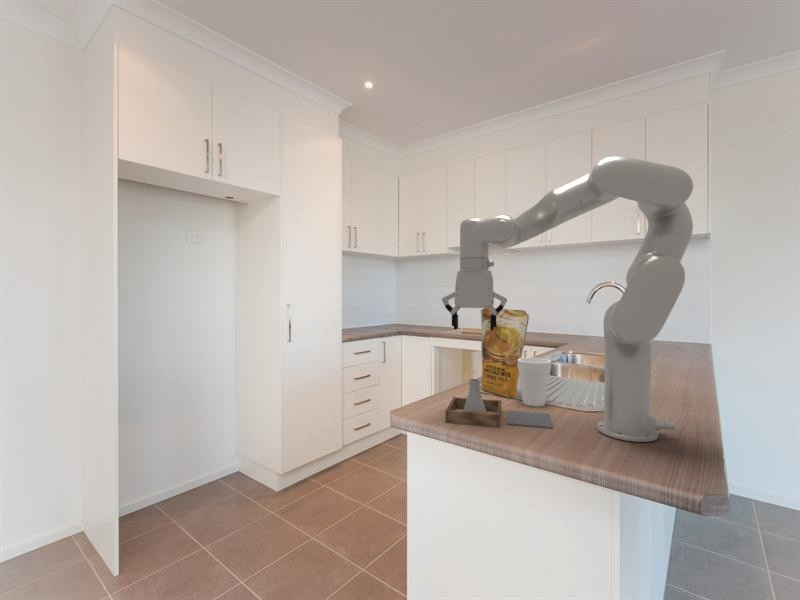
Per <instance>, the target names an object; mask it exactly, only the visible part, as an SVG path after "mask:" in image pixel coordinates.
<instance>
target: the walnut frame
mask: <svg viewBox="0 0 800 600" xmlns="http://www.w3.org/2000/svg"><path fill="white" fill-rule="evenodd" d="M466 400H467V397H457V396H455V397H454V396H453V397H452V399H451V400H450V402H449V404H448V406H447V408H446V410H445V423H446V424H449V423H450V424H459V425H470V426H480V427H481V426H483V427H494V428H501V418H502V399H501V400H500V399H488V398H487V399H485V398H482V400H483V403H484V405H485V408H486V411H487V413H477V412H464V411H463V409H464V406H465V403H466ZM456 409H460V410H456ZM488 412H496V413H488Z"/></svg>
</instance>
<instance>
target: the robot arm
mask: <svg viewBox="0 0 800 600" xmlns="http://www.w3.org/2000/svg"><path fill="white" fill-rule="evenodd" d="M693 190H694V182H693V179H692V177H691V176H690V175H689V174H688V173H687V171H685V170H683V169H681V168H679V167H676V166H671V165H668V164H662V163H657V162H654V161H653V162H651V161H648V160H644V159H643V160H642V159H638V158H634V157H627V156H622V155H621V156H620V155H611V156H607V157H603V158H602V159H601V160H599V161H598V162H596V164H595V165H594V167H593V169H592V170H591V171H590V172H588V173H586V174H584V175H582V176H580V177H577V178H576V179H573V180H571V181H569V182H567V183H565V184H562V185H560V186H558V187H555V188H554V189H552V190H550V191H549V192H547V193H546V194H545V195H544V196H543V197H542V198H541V199H540V200H539V201H538V202H537V203H536V204H534V205H533V206H532V207H530V208H529V209H527V210H525V211H523V212H522V213H519V214H517V215H516V216H513V217H512V216H510V215H506V214H500V215H495V216H489V217H485V218H479V217H477V218H466V219H464V220H462V221H461V223H460V225H459V270H458V271H457V272H456V278H455V279H456V280H455V285H454V286H455V287H454V292H452V293H450V294H448V295H446V296H444V297H442V298H441V301H442V304H443V306H444V307H445V309H446V310H447V311H448V312H449V313H450V315H451V326H452V327H453V330H457V329H459V314H458V311H459V310H460V309H462V308H463V309H484V308H488V309H489V310H490V312H491V317H490V330H494V327H496V315H497V314H498V313H499V312H500V311H501V310H502V309H504V307H505V305H506V303H507V302H508V298H507V297H504V296H503V295H501V294H499V293H497V292H494V280H493V273H492V270H489V268H491V267H494V266H495V261H494V260H490V259H489V245H491V244H492V245H496V246H498V247H500V248H504V249H507V248H512V247H514V246H515V247H516V246H517V245H520V244H521V243H525V242H527V241H529V240H530V239H531V240H532V239H533V238H536V237H537V236H539V235H541V234H543V233H546V232H547V231H550V230H552V229H554V228H556V227H558V226H560V225H561V224H564V223H566V222H568V221H570V220H572V219H575V218H577V217H579V216H581V215H584V214H586V213H588V212H590V211H593V210H595V209H598V208H600V207H602V206H604V205H607V204H609V203H611V202H613V201H615V200H617V199H618V198H623V199H626V200H630V201H634V202H637V203H636V204H637V206H638V208H639V209H638V210H640V211H641V213H642V214H643V215H644V216H645V218H646V221H647V224H648V225H647V226H648V227H647V231H646V233H645V236H644V238H643V242H642V244H641V245H640V248H639V249H638V252H637V254H636V256H635V258H634V259H633V262H632V263H631V265H630V267H629V268H628V270H627V273H626V277H625V282H626V287H625V289H624V291H623V293H622V296H621V298H620V300H618V301H616V302H613V303H612V304H610V306H609V307H608V308H607V309H606V311H605V313H604V317H603V337H604V338H603V339H604V400H603V401H604V405H603V406H604V415H603V416H604V417H603V418H604V419H603V420H600V421H598V422H597V424H596V425H597V431H599V432H600V433H601V434H603V435H605V436H607V437H610V438H613V439H618V440H621V441H627V442H637V443H649V442H654V441H657V440H658V439H659V435H660V434H659V431H660V429H661V430H666V431H667V430H668V431H669V430H670V431H675V430H676V422H675V421H672V420H671V421H668V420H665V419H664V418H655V417H654V416H653V415H652V414H651V413H652V404H651V403H652V401H651V400H652V399H651V398H652V391H651V390H652V347H651V345H652V344H651V341H653V340H655V338H657V336H658V335H659V333H661V330H662V329H663V327H664V326H665V324H666V321H667V320H668V318H669V316H670V314H671V312H672V311H673V309H674V307H675V304H676V303H677V301H678V298H679V297H680V295H681V293H682V290H683V288H684V285H685V281H686V272H685V268H684V266H683V265H682V263H681V261H682V259H683V257H684V255H685V253H686V250H687V247H688V246H689V244H690V241H691V238H692V235H693V229H694V224H693V217H692V215H691V211H690V209H689V207H688V205H687V204H686V202H687V201H688V199H690V197H691V196H692V193H693ZM453 298H454V307H453V306H451V305H450V302H449V301H450V300H452V299H453ZM494 299H496V300H499V301H500V303H499V305H498V306H497V307H494V302H495V301H494ZM495 308H496V309H495Z"/></svg>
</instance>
